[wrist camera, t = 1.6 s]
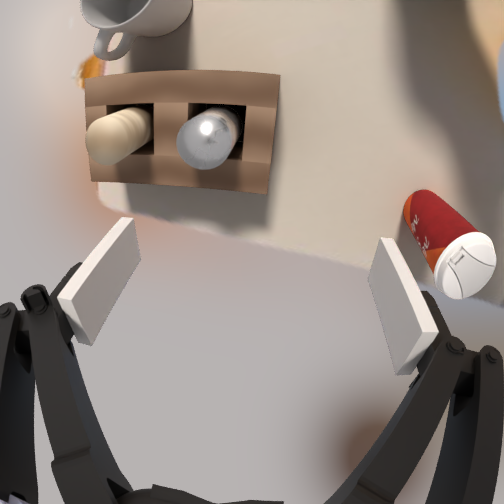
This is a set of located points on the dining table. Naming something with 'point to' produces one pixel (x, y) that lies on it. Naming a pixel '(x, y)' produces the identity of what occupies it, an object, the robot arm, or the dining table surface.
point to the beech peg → (120, 134)
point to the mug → (132, 21)
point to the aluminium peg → (209, 137)
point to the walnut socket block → (177, 114)
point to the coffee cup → (450, 245)
